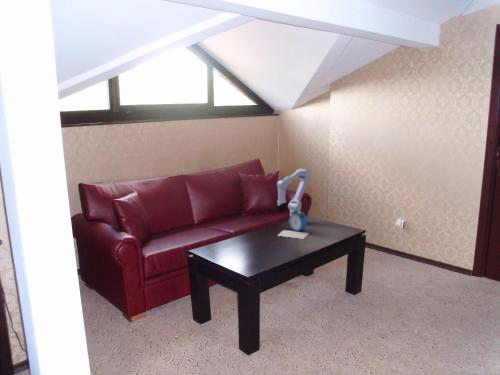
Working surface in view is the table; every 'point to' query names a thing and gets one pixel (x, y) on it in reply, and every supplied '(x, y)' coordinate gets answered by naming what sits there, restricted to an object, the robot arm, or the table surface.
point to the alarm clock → (297, 221)
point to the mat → (293, 234)
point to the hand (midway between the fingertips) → (281, 212)
